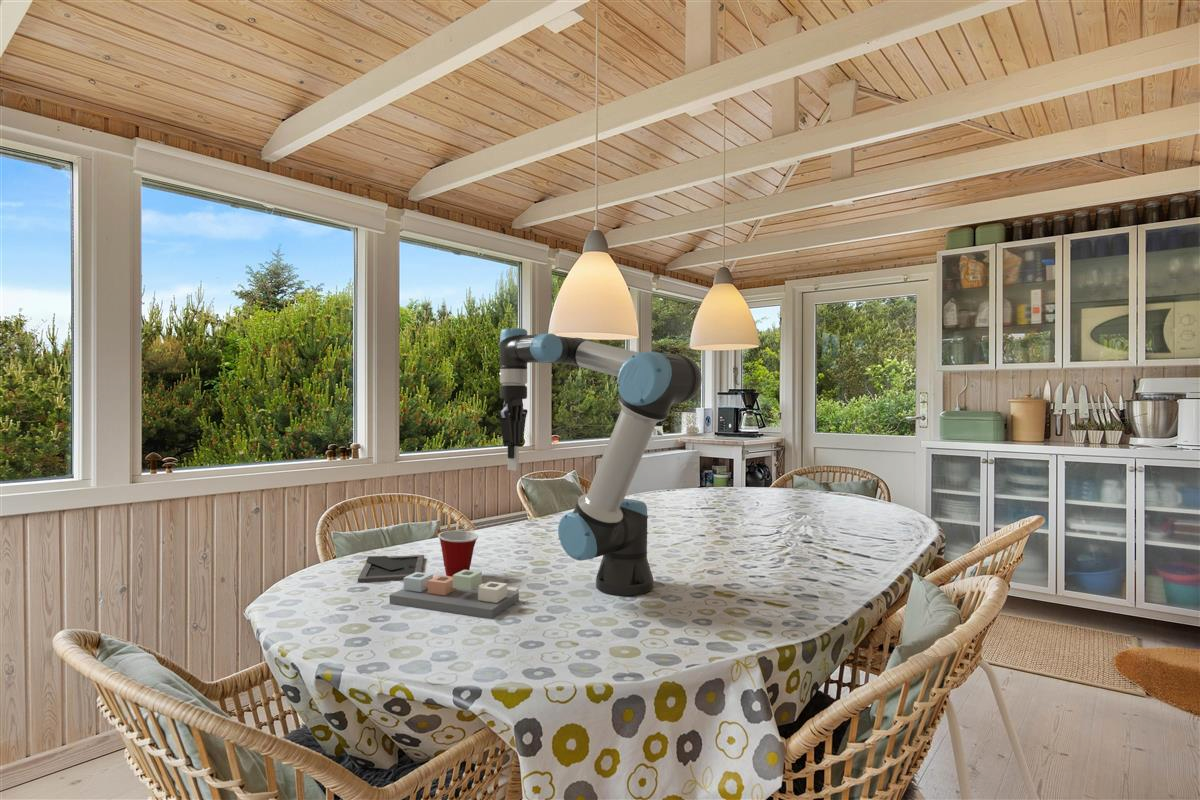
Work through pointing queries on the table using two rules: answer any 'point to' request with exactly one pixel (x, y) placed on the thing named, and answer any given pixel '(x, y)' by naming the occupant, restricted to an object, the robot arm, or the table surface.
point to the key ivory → (492, 592)
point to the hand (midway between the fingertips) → (513, 469)
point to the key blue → (417, 581)
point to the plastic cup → (457, 550)
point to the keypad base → (456, 601)
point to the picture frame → (390, 568)
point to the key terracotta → (441, 585)
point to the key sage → (467, 579)
